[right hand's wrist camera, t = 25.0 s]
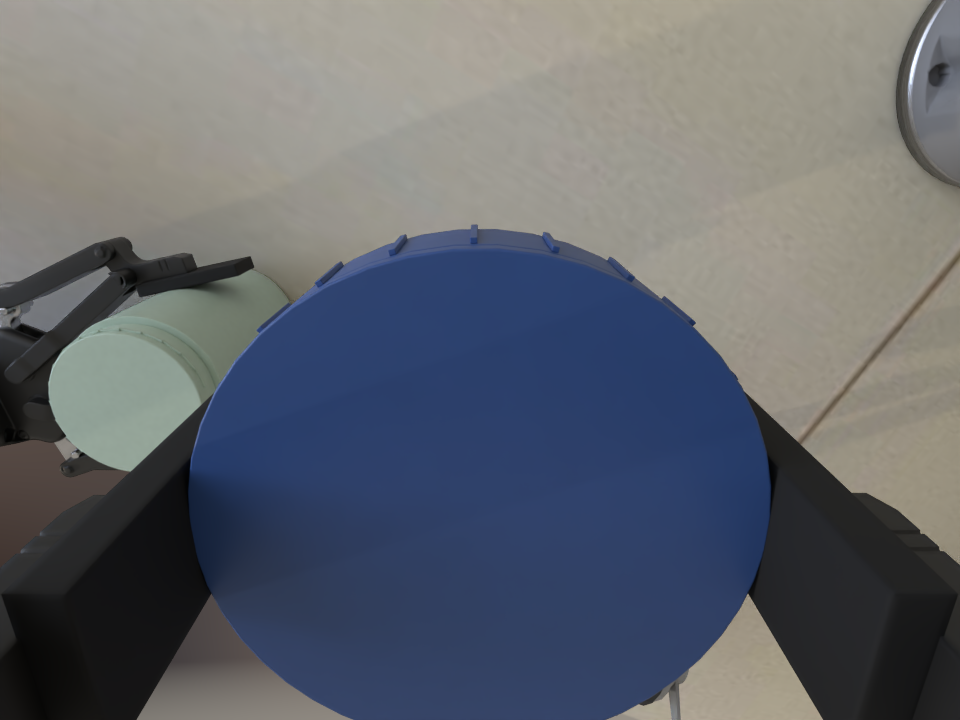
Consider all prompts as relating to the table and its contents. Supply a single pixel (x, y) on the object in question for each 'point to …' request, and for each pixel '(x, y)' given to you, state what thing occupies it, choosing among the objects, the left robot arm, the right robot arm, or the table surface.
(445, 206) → the table surface
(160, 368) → the jar
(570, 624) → the lid
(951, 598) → the right robot arm
